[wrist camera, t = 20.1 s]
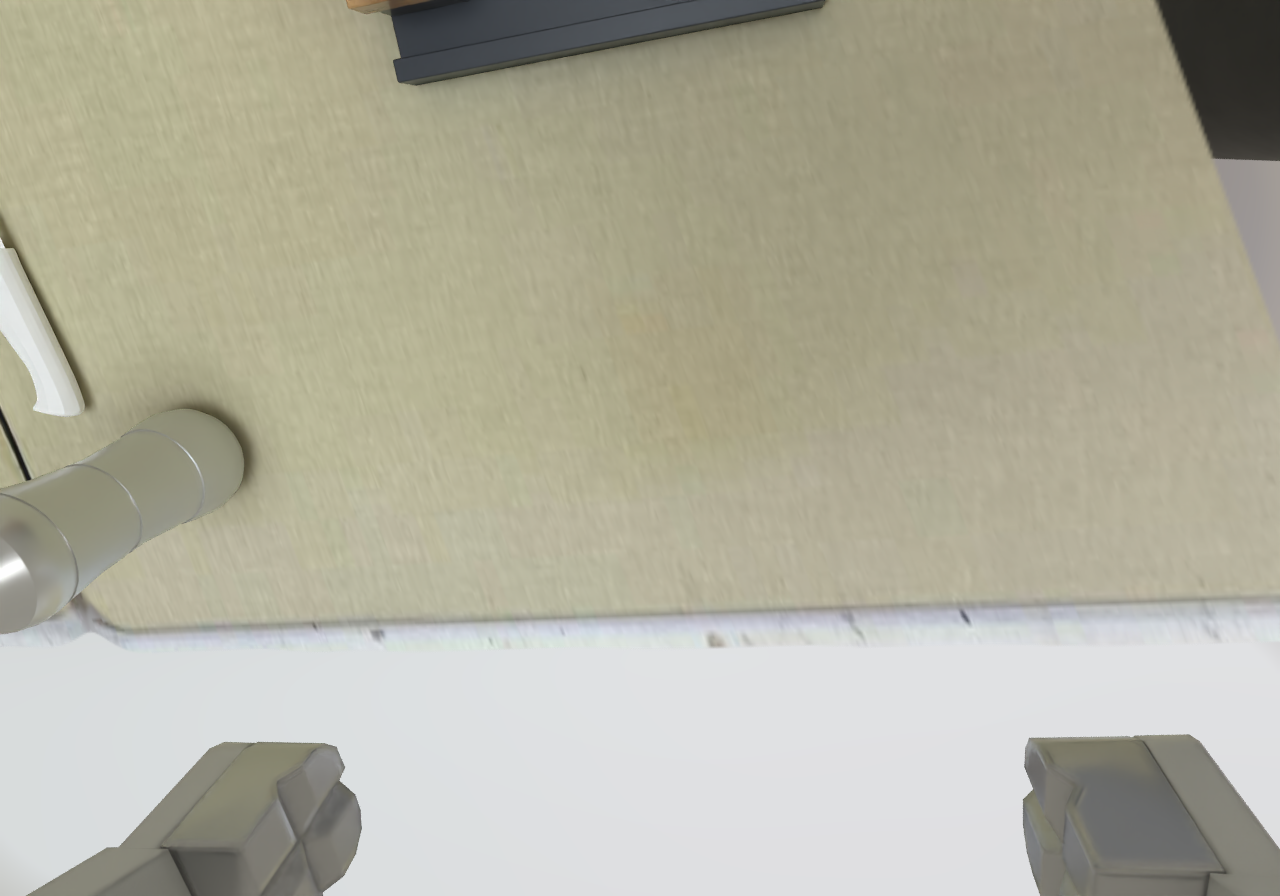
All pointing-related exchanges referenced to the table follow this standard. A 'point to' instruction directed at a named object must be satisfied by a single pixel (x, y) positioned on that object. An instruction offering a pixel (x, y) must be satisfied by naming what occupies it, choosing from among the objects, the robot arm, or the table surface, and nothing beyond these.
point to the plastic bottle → (109, 509)
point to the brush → (397, 5)
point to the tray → (553, 30)
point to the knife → (35, 341)
